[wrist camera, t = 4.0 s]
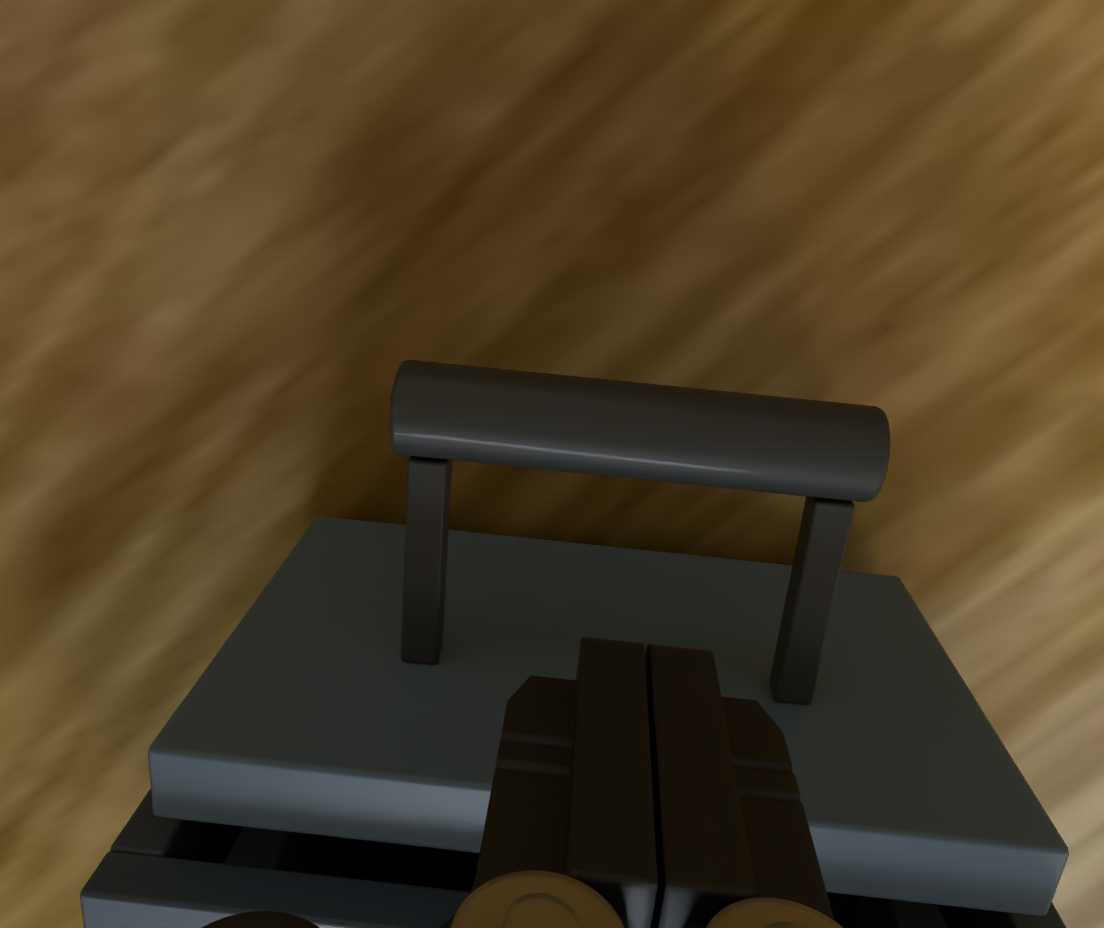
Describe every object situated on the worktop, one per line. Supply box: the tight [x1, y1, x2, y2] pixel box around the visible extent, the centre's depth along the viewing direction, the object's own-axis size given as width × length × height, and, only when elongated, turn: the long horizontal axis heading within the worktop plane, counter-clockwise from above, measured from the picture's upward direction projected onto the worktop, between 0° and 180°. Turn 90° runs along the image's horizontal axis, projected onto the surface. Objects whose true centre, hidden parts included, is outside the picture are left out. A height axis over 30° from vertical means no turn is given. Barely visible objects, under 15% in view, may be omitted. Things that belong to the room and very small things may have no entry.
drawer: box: [148, 360, 1069, 928], centre depth 17 cm, size 18×12×8 cm
